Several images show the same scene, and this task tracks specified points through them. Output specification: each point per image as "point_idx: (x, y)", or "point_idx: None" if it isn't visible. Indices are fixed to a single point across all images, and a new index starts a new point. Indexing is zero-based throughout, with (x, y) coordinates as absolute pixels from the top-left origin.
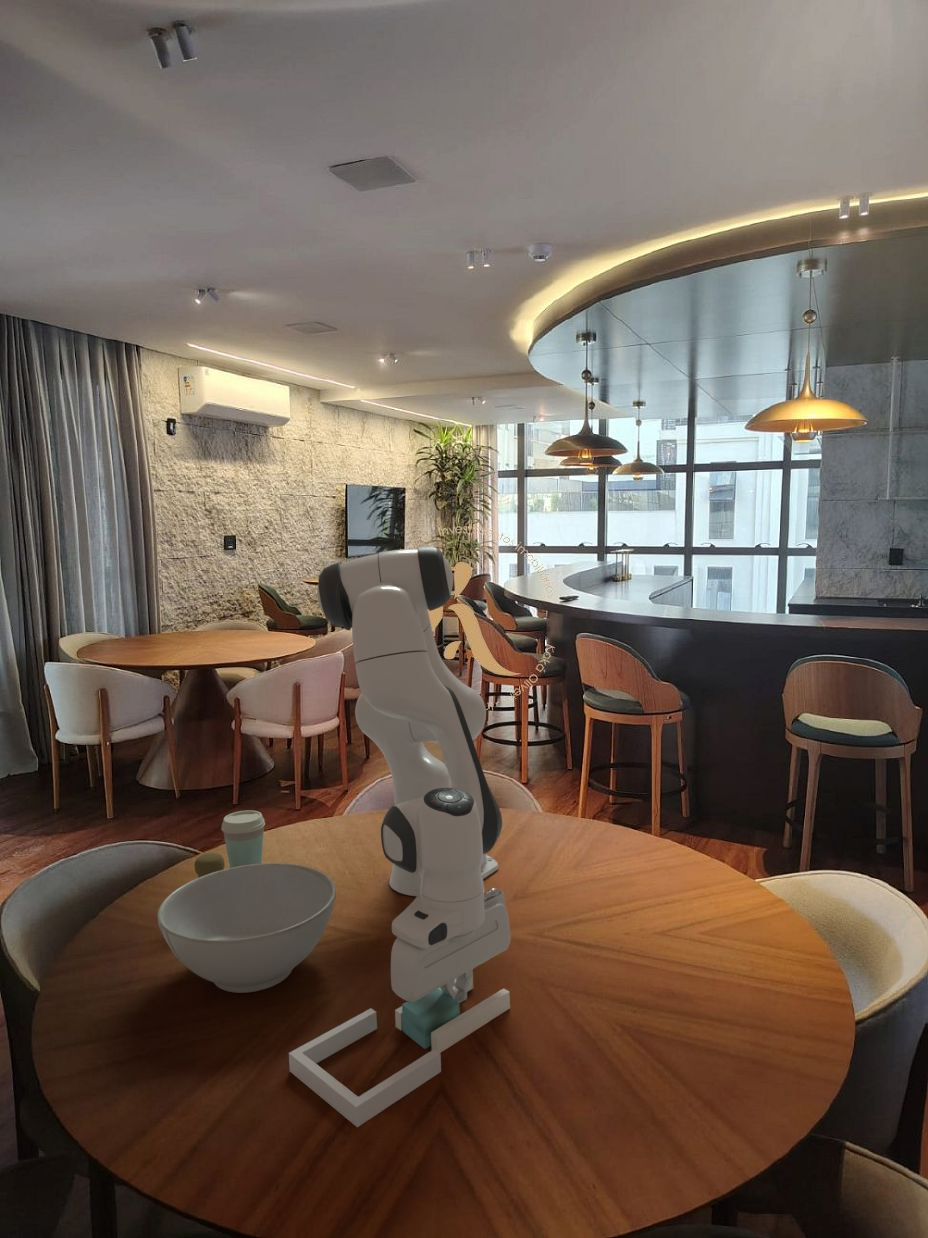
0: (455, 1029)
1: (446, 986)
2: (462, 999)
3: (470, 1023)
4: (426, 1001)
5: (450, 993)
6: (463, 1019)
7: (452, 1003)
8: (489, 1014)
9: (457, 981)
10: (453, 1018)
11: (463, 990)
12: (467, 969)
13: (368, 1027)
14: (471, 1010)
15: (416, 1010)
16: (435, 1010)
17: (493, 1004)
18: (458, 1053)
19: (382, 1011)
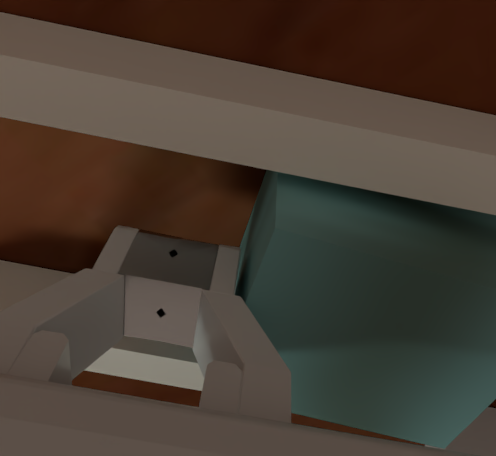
0: (406, 126)
1: (289, 395)
2: (154, 240)
3: (265, 89)
4: (362, 382)
5: (257, 325)
6: (326, 127)
7: (305, 263)
8: (87, 45)
9: (99, 348)
10: (325, 193)
11: (125, 276)
12: (40, 409)
13: (476, 426)
14: (202, 136)
15: (475, 384)
16: (437, 309)
17: (18, 51)
18: (476, 22)
19: (324, 422)
